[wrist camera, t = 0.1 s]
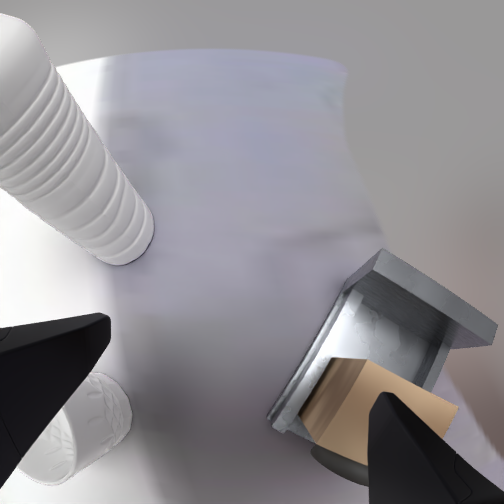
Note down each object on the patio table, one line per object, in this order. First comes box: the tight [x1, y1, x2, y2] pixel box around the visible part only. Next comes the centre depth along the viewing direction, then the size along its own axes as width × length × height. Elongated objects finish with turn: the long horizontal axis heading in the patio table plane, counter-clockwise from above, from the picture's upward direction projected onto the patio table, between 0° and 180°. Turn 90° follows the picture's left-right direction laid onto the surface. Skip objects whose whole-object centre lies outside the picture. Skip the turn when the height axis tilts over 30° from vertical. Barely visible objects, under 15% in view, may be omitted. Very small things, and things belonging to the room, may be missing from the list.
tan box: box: [297, 357, 459, 487], centre depth 16 cm, size 6×7×8 cm
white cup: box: [16, 372, 133, 486], centre depth 17 cm, size 8×8×10 cm
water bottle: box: [0, 13, 154, 265], centre depth 14 cm, size 9×6×25 cm
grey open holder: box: [267, 248, 498, 443], centre depth 18 cm, size 13×10×8 cm
